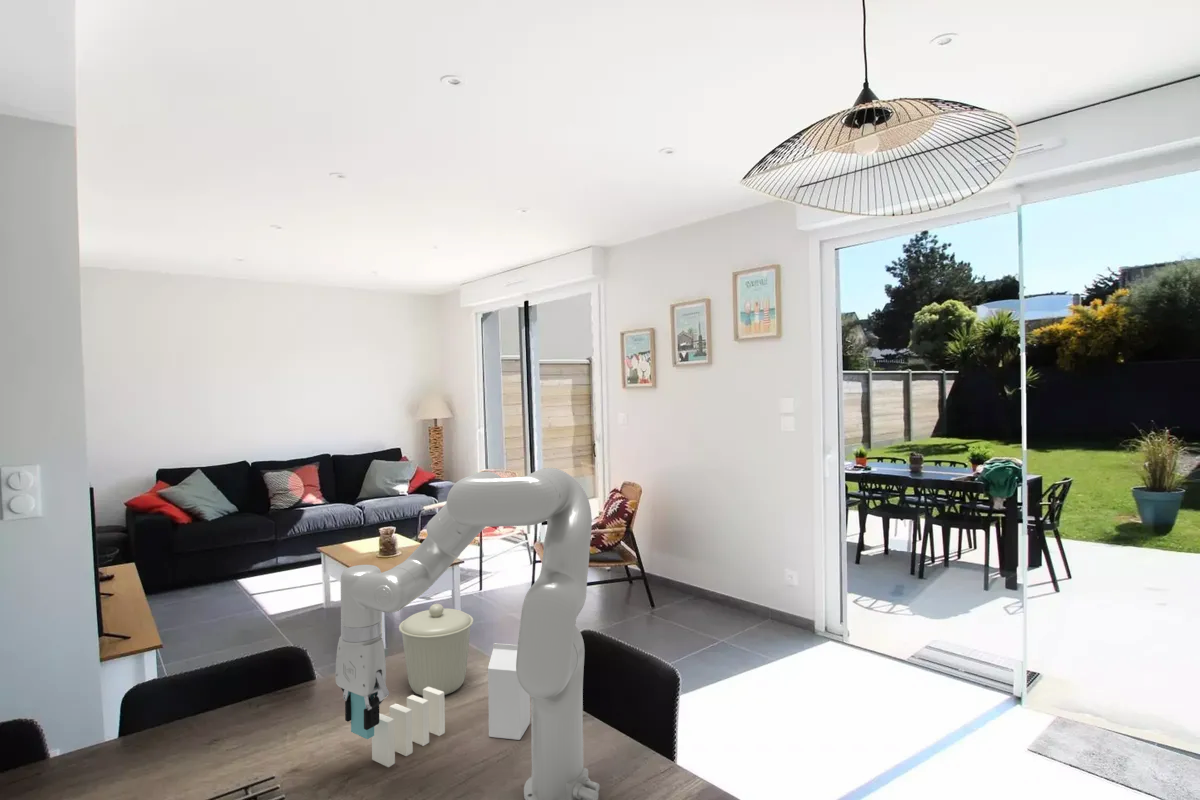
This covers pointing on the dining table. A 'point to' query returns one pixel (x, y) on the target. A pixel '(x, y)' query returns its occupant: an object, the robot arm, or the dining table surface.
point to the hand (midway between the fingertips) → (362, 721)
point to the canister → (436, 648)
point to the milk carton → (506, 695)
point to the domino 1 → (359, 716)
